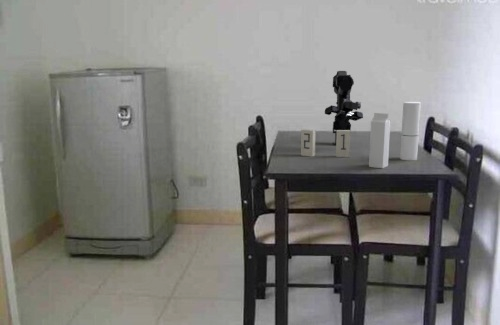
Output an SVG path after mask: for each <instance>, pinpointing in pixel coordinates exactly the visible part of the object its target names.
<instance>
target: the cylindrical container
mask: <svg viewBox="0 0 500 325" xmlns="http://www.w3.org/2000/svg"><path fill="white" fill-rule="evenodd" d="M421 104H422V102H420V101H403V104H402V105H403V106H402V121H401V123H402V124H401V138H400V151H399V153H400V154H399V159H400V160H403V161H417V160H418V152H419V151H418V149H419V148H418V147H419V136H420V134H419V133H420V132H419V130H420V119H421V109H422V108H421V106H422V105H421Z"/></svg>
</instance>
